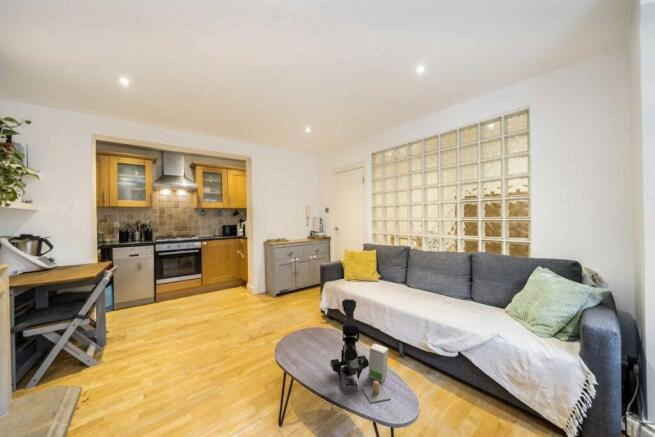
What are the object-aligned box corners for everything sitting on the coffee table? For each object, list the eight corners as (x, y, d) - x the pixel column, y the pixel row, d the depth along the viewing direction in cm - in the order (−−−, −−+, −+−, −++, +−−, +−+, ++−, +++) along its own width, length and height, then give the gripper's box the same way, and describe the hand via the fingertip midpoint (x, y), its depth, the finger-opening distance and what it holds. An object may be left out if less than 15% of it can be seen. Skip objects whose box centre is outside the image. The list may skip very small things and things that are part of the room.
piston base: (362, 388, 123) (362, 377, 123) (380, 385, 126) (380, 374, 126) (370, 403, 114) (370, 391, 114) (390, 399, 116) (390, 387, 116)
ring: (340, 383, 127) (340, 379, 127) (353, 381, 129) (353, 377, 129) (344, 393, 120) (344, 388, 120) (358, 390, 122) (358, 386, 122)
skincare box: (368, 376, 133) (368, 347, 133) (373, 370, 138) (373, 342, 138) (383, 382, 128) (383, 352, 128) (387, 376, 134) (388, 347, 133)
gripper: (336, 360, 114) (336, 394, 114) (373, 355, 119) (373, 387, 119) (330, 347, 125) (329, 378, 125) (364, 343, 130) (364, 373, 130)
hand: (349, 379), depth 124 cm, fingers open, 9 cm apart
